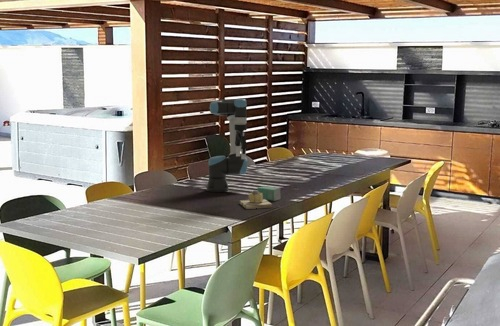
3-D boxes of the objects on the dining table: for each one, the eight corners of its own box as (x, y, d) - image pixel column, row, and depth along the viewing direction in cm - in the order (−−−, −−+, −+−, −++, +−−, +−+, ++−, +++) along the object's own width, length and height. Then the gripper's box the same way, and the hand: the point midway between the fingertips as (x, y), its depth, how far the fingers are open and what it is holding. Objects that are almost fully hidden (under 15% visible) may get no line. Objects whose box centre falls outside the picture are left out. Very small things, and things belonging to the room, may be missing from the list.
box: (263, 196, 389) (263, 185, 387) (280, 199, 380) (280, 187, 379) (257, 198, 383) (256, 187, 382) (274, 201, 375) (274, 189, 373)
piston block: (239, 203, 368) (239, 189, 366) (264, 202, 372) (264, 187, 371) (246, 209, 352) (246, 194, 351) (272, 207, 357) (272, 192, 355)
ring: (247, 200, 365) (247, 192, 364) (260, 199, 367) (260, 192, 366) (251, 202, 357) (251, 195, 356) (263, 201, 359) (263, 194, 358)
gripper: (230, 122, 384) (230, 155, 387) (239, 125, 360) (239, 160, 363) (241, 122, 386) (241, 154, 389) (251, 125, 362) (251, 160, 365)
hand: (240, 157), depth 376 cm, fingers open, 13 cm apart
